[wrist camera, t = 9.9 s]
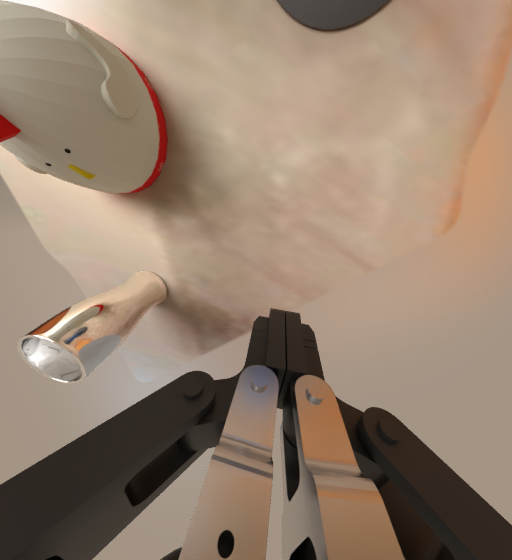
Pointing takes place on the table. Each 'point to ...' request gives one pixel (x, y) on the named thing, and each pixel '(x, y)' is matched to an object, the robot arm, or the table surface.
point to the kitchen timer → (76, 104)
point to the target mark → (330, 12)
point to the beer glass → (90, 329)
